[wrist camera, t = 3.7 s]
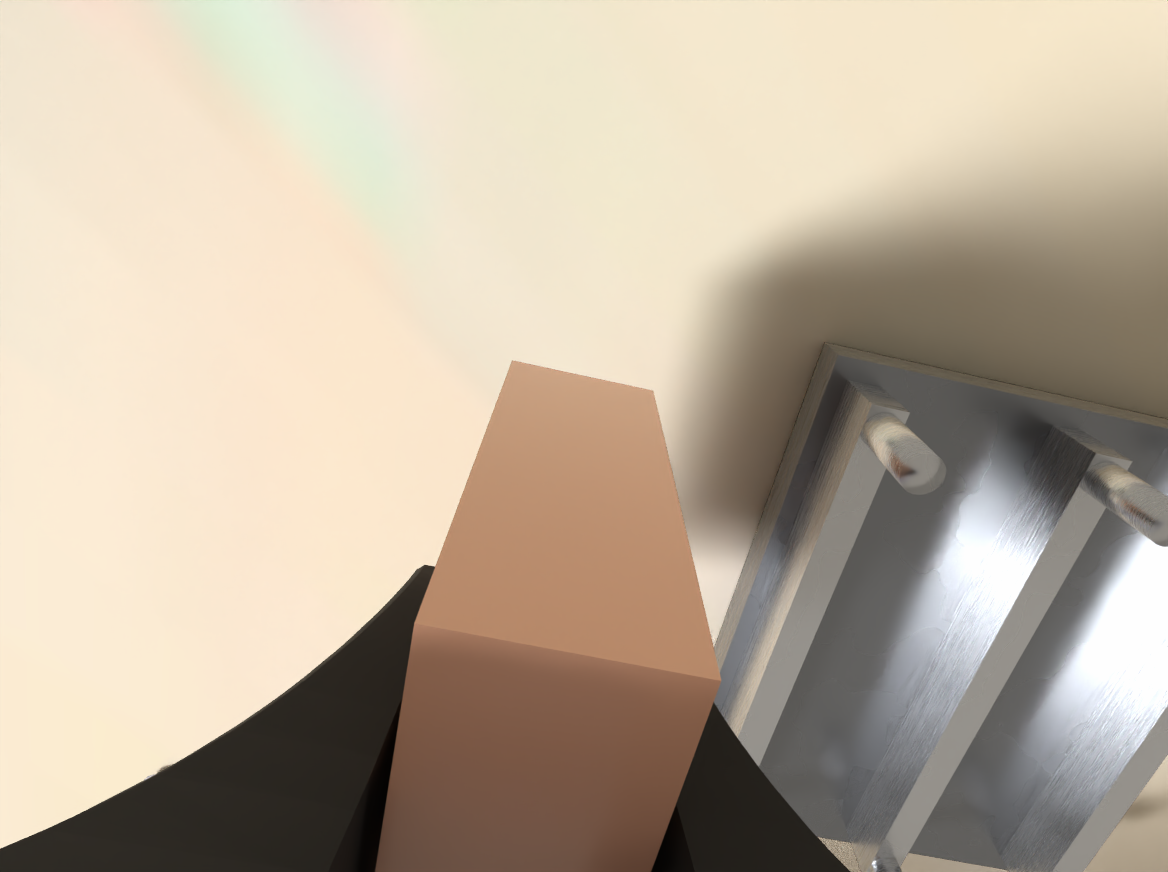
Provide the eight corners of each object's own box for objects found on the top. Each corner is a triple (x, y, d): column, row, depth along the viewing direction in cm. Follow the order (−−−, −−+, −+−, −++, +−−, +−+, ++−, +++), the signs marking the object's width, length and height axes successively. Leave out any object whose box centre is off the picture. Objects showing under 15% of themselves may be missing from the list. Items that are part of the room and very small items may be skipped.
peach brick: (567, 709, 15) (545, 1158, 8) (449, 687, 15) (334, 1128, 8) (653, 390, 12) (721, 679, 6) (511, 360, 12) (413, 623, 5)
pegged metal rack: (1012, 843, 23) (1106, 1004, 18) (665, 781, 22) (681, 935, 18) (1272, 442, 17) (1487, 541, 13) (824, 342, 16) (901, 413, 12)
